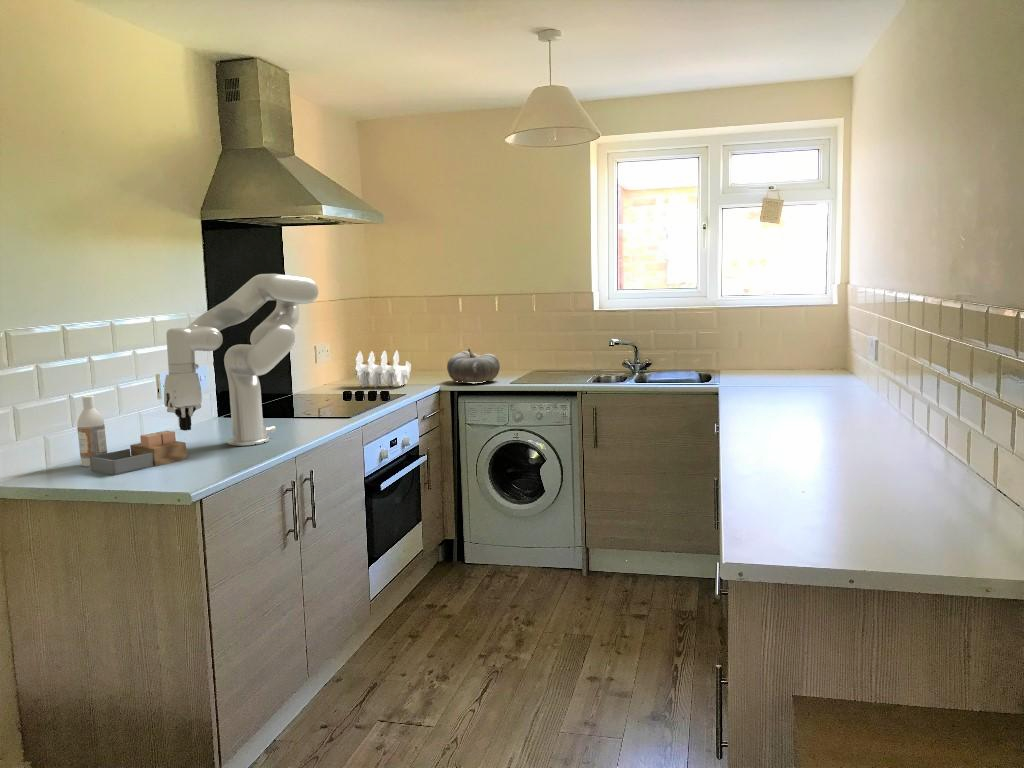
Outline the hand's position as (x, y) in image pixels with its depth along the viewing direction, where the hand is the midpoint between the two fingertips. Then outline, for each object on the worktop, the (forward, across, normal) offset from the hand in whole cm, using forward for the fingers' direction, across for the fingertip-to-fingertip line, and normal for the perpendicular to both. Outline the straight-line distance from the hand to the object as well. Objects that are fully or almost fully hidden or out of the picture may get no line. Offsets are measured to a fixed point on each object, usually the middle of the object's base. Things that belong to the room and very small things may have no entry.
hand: (185, 429), depth 242 cm
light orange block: (+3, +11, 0) cm, 12 cm away
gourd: (+3, -169, -19) cm, 170 cm away
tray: (+8, +20, 0) cm, 22 cm away
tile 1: (+3, +7, 0) cm, 7 cm away
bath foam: (+8, +21, -13) cm, 26 cm away
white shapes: (+4, -139, -51) cm, 148 cm away
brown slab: (+8, +9, 0) cm, 12 cm away
